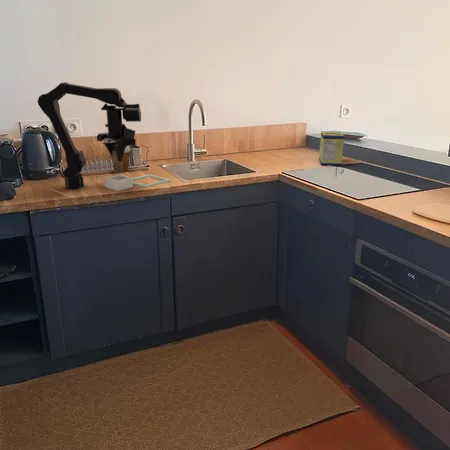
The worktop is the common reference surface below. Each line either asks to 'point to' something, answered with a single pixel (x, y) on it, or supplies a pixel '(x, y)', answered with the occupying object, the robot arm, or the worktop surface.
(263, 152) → the worktop surface
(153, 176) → the pale green square frame
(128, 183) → the box
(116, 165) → the walnut pin
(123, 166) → the disposable coffee cup
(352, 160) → the worktop surface
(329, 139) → the protein box
